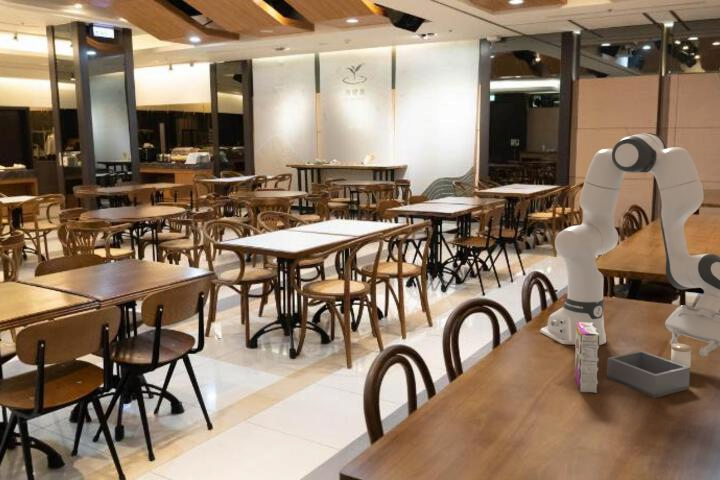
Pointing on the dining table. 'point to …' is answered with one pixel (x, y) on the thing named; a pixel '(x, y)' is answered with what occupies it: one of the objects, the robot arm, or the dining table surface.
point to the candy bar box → (586, 357)
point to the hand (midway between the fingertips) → (687, 349)
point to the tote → (648, 373)
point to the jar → (681, 354)
